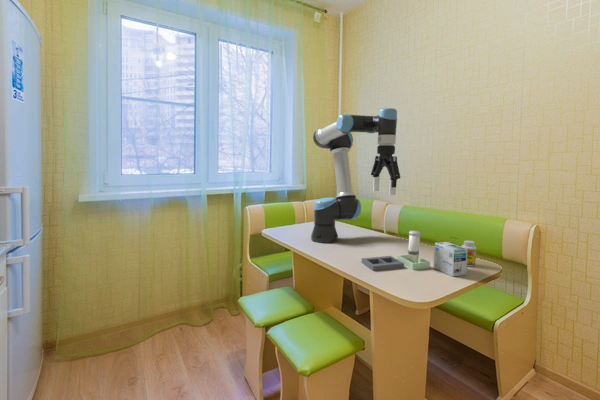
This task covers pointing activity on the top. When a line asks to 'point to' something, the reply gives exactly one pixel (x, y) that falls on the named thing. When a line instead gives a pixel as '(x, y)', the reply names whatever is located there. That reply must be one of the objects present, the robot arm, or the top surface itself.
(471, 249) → the supplement bottle
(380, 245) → the top surface
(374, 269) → the fuse holder
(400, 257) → the parts tray
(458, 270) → the light bulb box
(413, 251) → the cylinder
